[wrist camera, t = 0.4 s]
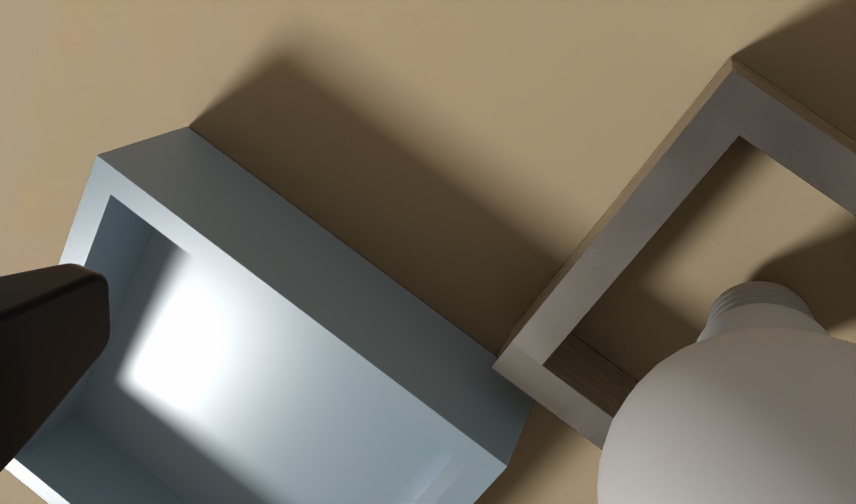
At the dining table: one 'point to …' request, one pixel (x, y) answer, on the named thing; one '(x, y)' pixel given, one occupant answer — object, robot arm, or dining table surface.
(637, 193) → the socket collar
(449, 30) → the dining table surface
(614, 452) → the lightbulb
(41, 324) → the robot arm
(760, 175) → the dining table surface
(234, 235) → the parts tray
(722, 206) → the dining table surface
